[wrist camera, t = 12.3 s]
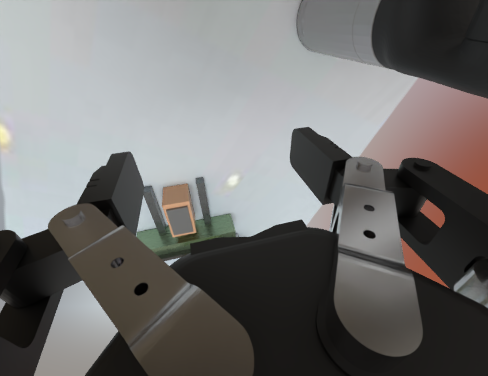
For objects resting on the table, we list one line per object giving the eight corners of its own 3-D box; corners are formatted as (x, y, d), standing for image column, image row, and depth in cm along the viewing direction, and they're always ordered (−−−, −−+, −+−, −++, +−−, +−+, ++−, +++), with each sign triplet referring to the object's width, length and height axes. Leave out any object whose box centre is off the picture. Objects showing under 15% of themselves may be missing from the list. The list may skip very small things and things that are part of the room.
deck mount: (226, 173, 48) (232, 193, 43) (231, 222, 57) (237, 244, 52) (117, 191, 44) (109, 216, 39) (141, 241, 54) (137, 266, 48)
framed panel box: (187, 183, 47) (189, 202, 42) (194, 213, 53) (196, 234, 48) (163, 187, 47) (161, 207, 41) (172, 218, 52) (172, 239, 47)
